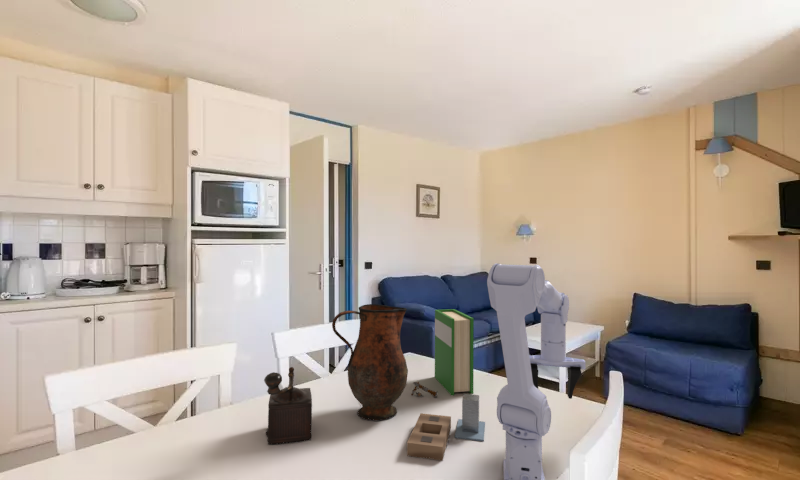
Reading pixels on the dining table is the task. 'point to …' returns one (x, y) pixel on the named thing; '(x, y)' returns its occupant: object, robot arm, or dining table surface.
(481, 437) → the slate mat
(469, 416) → the steel peg
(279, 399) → the manual coffee grinder
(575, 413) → the dining table surface
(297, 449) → the dining table surface
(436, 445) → the brown flat rectangular block
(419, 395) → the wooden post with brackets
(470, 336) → the hardback book
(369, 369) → the pitcher
